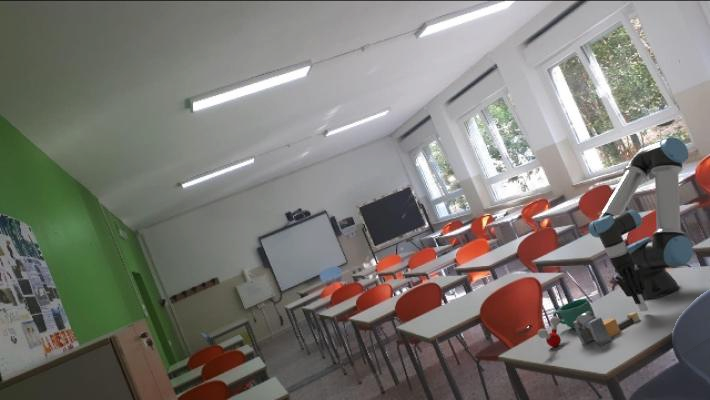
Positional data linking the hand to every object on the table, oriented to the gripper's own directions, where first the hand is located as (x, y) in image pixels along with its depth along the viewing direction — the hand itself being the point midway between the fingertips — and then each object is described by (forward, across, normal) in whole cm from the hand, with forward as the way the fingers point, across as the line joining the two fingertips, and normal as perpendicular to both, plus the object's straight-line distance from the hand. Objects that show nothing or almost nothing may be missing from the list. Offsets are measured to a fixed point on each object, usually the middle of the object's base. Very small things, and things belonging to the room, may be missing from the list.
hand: (644, 310), depth 223 cm
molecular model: (+2, +31, -18) cm, 36 cm away
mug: (+2, +13, -27) cm, 30 cm away
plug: (+2, +13, 0) cm, 13 cm away
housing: (+2, +25, 0) cm, 25 cm away
